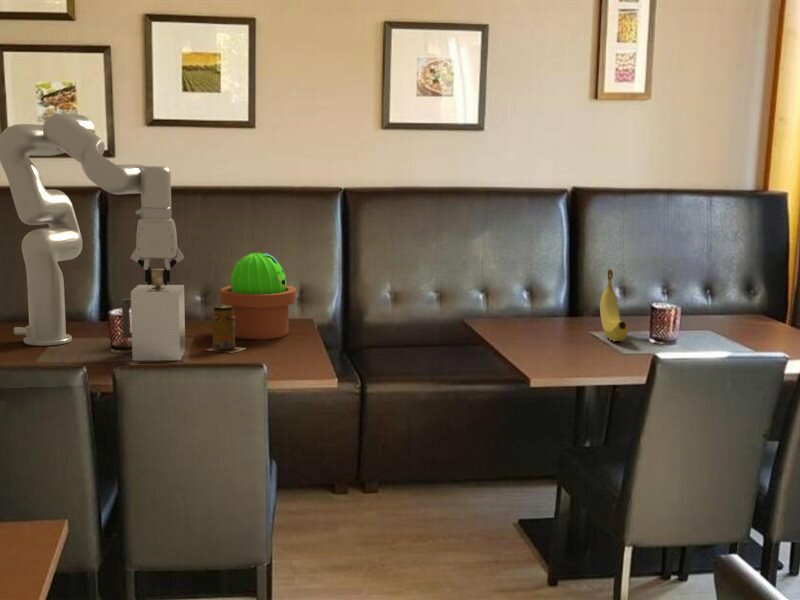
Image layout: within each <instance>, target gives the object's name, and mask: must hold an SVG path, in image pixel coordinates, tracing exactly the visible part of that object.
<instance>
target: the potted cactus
mask: <svg viewBox="0 0 800 600" xmlns="http://www.w3.org/2000/svg"><path fill="white" fill-rule="evenodd" d="M228 278H230V285H227V286H224V287H222V288H221V289H220V290H219V291H220V292H219V294H220V295H219V296H220V300H219V301H220V303H221V305H229V306H233V312H234V316H235V339H243V340H252V341H253V340H257V341H258V340H274V339H280V338H283V337H285V336H287V335H288V333H289V306H291V305H293V304H295V303H297V288H296V287H294V286H290V285H287V276H286V274H285V271H284V269H283V266H281V263H280V262H279V261H278V259H276V258H275V257H274V256H273V255H271V254H269V253H267V252H264V253H263V252H262V253H261V252H252V253H249V254H246V253H245V255H244V256H243V257H242V258H241V259H240V260H239V261H237V260H236V263H235V264H234V265H233V269H232V271H231V276H230V277H228Z"/></svg>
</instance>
